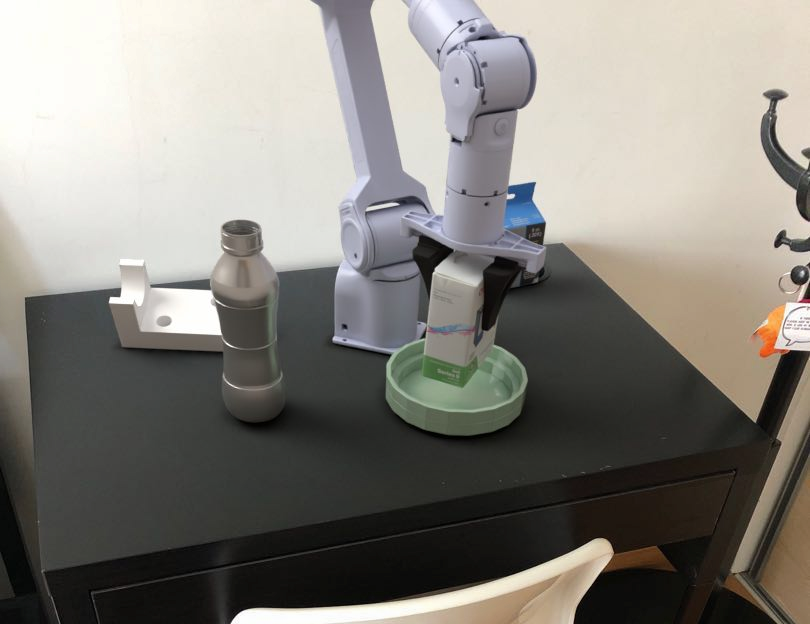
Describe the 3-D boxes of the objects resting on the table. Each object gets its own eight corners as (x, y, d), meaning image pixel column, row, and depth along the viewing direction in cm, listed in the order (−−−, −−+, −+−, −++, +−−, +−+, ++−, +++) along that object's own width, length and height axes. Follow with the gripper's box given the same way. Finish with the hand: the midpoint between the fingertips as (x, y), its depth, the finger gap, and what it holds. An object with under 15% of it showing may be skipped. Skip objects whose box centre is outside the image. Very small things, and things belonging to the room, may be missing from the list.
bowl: (366, 422, 94) (367, 394, 92) (408, 352, 105) (409, 325, 103) (506, 453, 92) (510, 424, 89) (534, 378, 102) (539, 351, 100)
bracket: (123, 352, 104) (108, 303, 97) (134, 309, 108) (120, 258, 101) (237, 357, 104) (229, 308, 98) (243, 314, 108) (237, 264, 102)
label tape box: (481, 296, 116) (492, 201, 108) (465, 282, 119) (475, 189, 111) (538, 284, 120) (553, 191, 111) (521, 271, 122) (535, 180, 114)
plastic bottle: (261, 438, 91) (247, 250, 78) (210, 415, 94) (188, 229, 80) (300, 409, 96) (293, 225, 82) (250, 388, 98) (235, 206, 85)
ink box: (451, 340, 99) (462, 237, 91) (495, 353, 98) (510, 249, 90) (419, 377, 94) (427, 270, 86) (465, 391, 92) (478, 283, 84)
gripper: (566, 189, 83) (544, 322, 92) (427, 155, 88) (419, 284, 97) (537, 215, 78) (516, 352, 88) (392, 177, 83) (386, 311, 92)
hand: (463, 318), depth 92 cm, fingers closed on ink box, 5 cm apart
